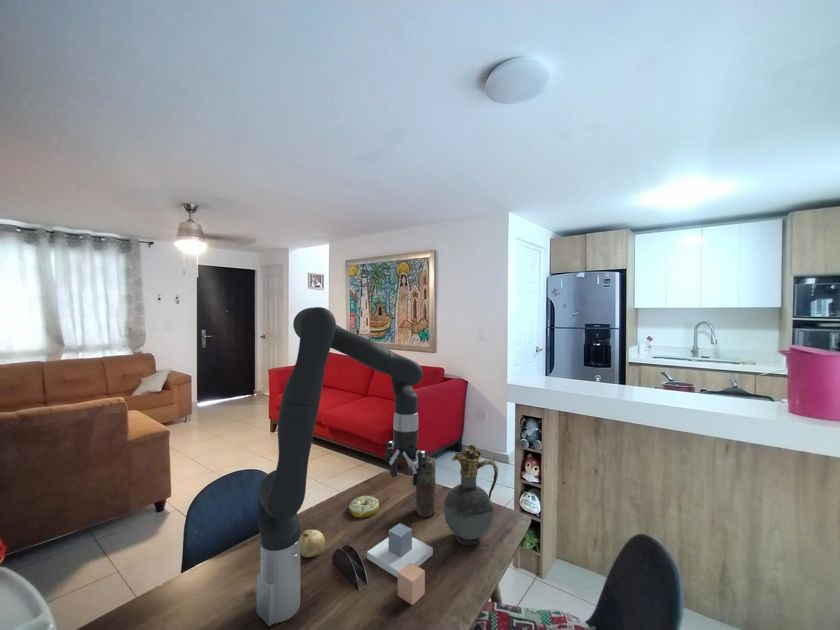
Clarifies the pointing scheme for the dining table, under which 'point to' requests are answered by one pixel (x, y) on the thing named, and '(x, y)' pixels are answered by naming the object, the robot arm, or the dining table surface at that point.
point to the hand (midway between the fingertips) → (404, 480)
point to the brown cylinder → (426, 490)
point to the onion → (311, 543)
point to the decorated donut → (364, 506)
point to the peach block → (411, 583)
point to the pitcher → (469, 500)
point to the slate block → (400, 540)
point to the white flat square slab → (394, 562)
